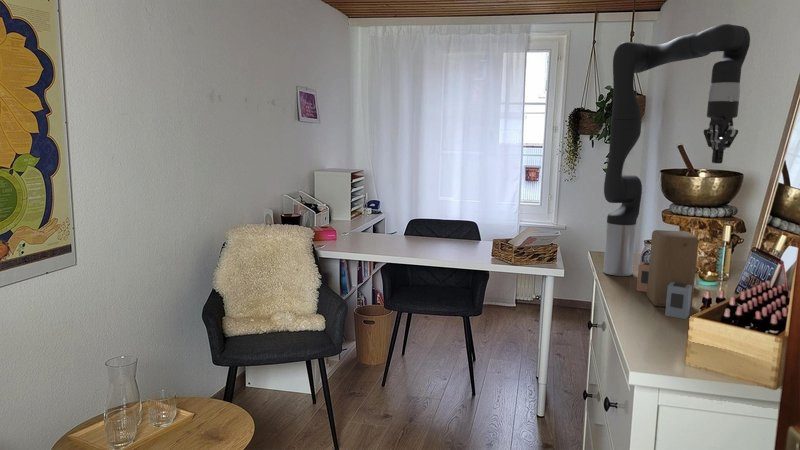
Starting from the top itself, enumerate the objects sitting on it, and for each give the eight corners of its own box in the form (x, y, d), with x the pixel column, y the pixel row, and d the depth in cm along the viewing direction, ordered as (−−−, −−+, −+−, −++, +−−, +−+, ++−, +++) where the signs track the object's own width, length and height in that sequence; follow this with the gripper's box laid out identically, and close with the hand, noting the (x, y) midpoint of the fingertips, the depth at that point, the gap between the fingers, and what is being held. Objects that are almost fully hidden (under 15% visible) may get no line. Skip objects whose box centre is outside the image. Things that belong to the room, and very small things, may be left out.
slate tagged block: (668, 310, 155) (671, 280, 153) (689, 314, 152) (692, 284, 150) (664, 315, 150) (667, 285, 149) (685, 319, 148) (688, 288, 146)
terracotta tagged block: (640, 286, 178) (642, 260, 177) (657, 289, 176) (660, 263, 174) (636, 290, 174) (638, 263, 173) (653, 293, 171) (656, 266, 170)
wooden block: (692, 309, 156) (700, 237, 152) (653, 307, 158) (659, 235, 154) (682, 299, 165) (689, 231, 162) (645, 297, 167) (651, 229, 164)
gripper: (696, 101, 165) (691, 161, 168) (724, 98, 152) (717, 164, 155) (722, 101, 166) (716, 162, 168) (752, 99, 153) (744, 164, 155)
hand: (717, 163), depth 162 cm, fingers closed
